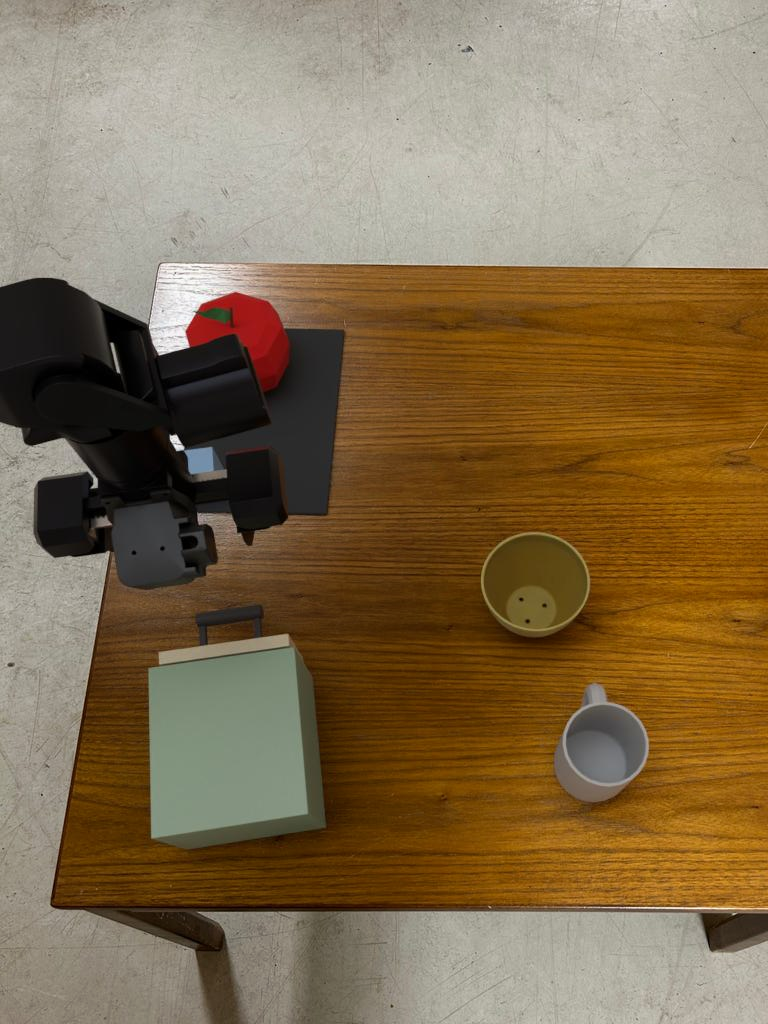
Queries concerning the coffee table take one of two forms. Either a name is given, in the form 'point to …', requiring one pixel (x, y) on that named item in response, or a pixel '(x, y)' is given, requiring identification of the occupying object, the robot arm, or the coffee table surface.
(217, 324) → the apple
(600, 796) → the cup
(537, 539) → the flower pot
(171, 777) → the cabinet
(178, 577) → the robot arm
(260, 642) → the drawer
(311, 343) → the mat
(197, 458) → the block
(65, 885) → the coffee table surface
